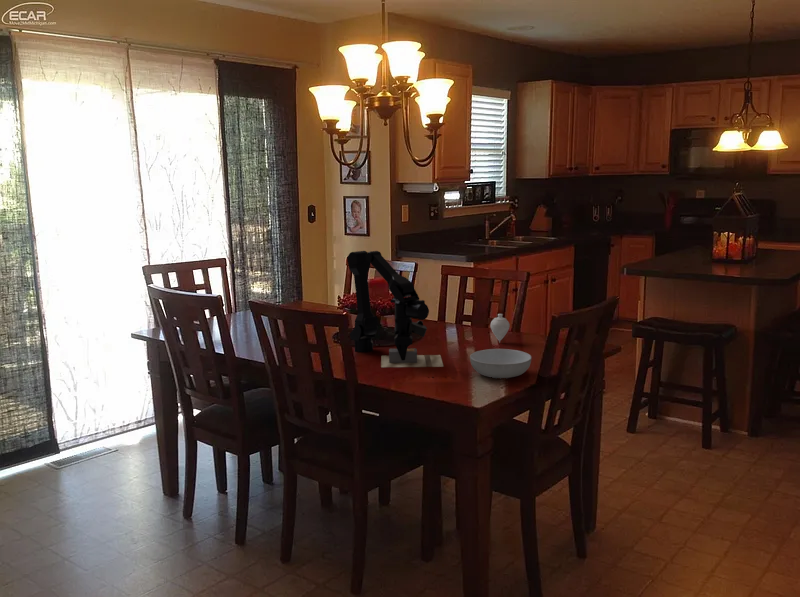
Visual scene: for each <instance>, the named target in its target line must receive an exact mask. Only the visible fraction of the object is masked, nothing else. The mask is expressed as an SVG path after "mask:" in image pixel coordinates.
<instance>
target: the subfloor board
mask: <svg viewBox="0 0 800 597" xmlns="http://www.w3.org/2000/svg"><path fill="white" fill-rule="evenodd" d="M380 367H381V368H440V367H441V368H443V367H445V366H444V363H443V359H442V356H441V354H424V355H423V354H417V363H389V355H381V360H380Z"/></svg>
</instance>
